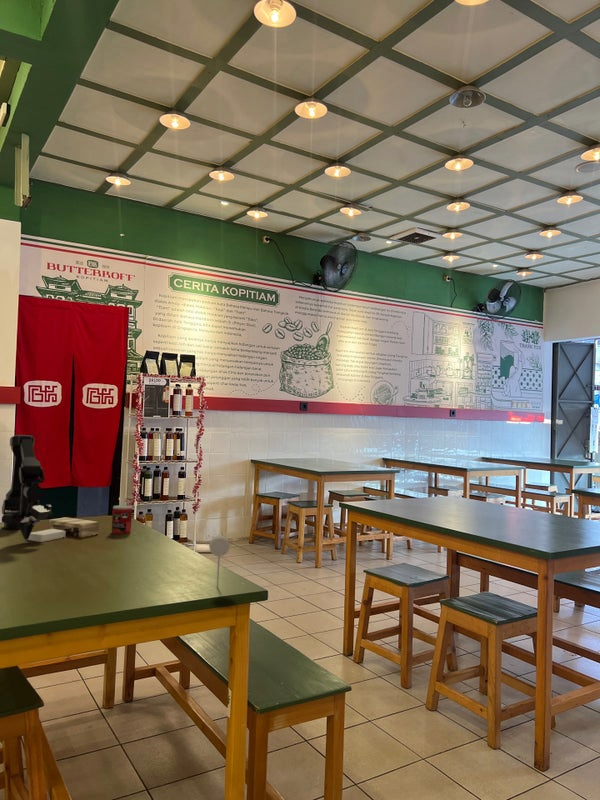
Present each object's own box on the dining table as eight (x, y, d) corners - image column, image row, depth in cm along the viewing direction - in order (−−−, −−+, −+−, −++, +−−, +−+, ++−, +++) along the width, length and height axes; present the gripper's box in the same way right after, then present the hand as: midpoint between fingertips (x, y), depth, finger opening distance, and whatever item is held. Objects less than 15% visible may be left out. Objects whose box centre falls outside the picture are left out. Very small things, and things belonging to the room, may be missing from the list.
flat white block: (27, 539, 229) (28, 533, 229) (52, 535, 240) (52, 528, 240) (41, 542, 226) (41, 535, 227) (65, 537, 237) (65, 530, 238)
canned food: (107, 533, 249) (109, 506, 250) (118, 530, 257) (120, 504, 257) (123, 535, 247) (125, 508, 247) (134, 532, 255) (135, 506, 255)
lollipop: (218, 583, 181) (220, 533, 181) (231, 587, 177) (234, 536, 177) (202, 587, 176) (205, 535, 176) (216, 591, 172) (219, 539, 173)
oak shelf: (48, 532, 246) (49, 519, 246) (65, 529, 254) (65, 517, 254) (82, 537, 238) (83, 524, 239) (98, 534, 247) (99, 521, 247)
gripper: (24, 502, 213) (21, 546, 213) (64, 497, 230) (61, 538, 230) (1, 499, 218) (-2, 542, 217) (42, 494, 235) (40, 534, 234)
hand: (26, 539), depth 224 cm, fingers closed
